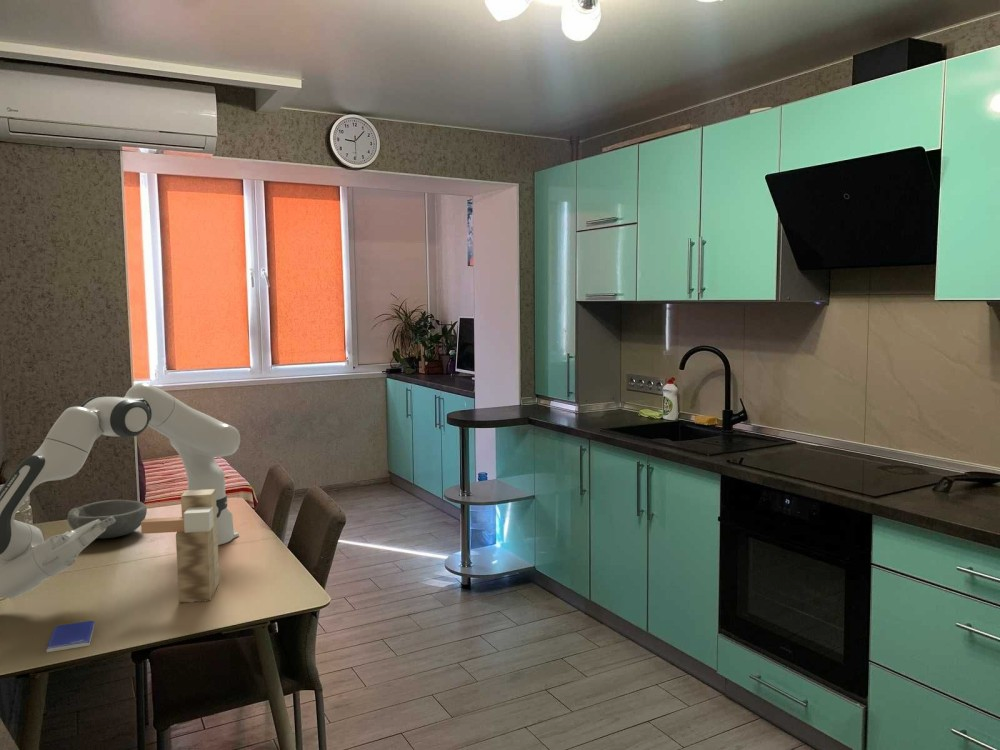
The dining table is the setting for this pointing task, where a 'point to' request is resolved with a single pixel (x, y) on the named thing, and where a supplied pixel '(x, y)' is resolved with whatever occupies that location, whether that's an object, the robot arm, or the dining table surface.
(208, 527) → the hammer
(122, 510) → the bowl
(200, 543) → the beige tall block
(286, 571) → the dining table surface
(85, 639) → the hard drive
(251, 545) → the dining table surface
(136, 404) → the robot arm
